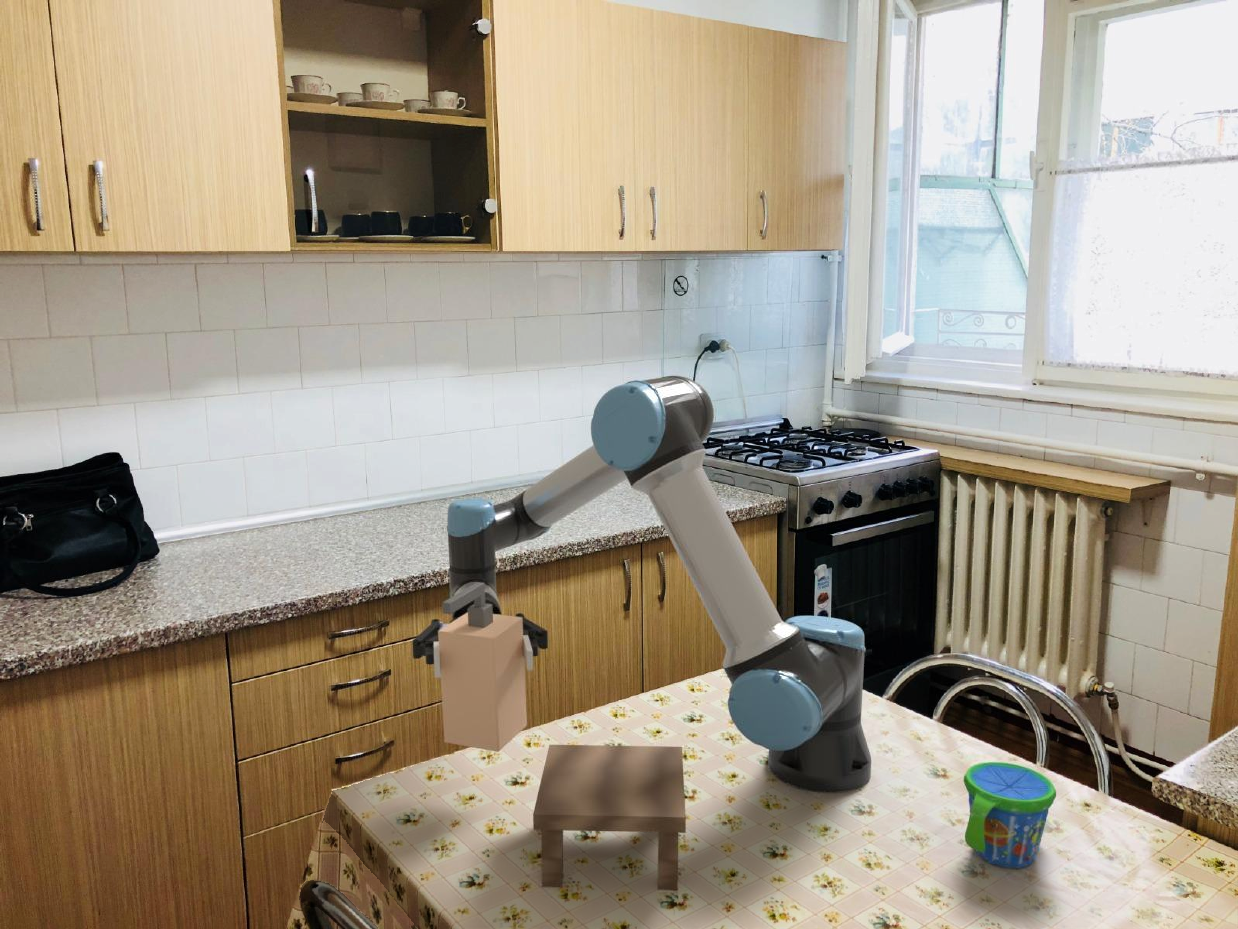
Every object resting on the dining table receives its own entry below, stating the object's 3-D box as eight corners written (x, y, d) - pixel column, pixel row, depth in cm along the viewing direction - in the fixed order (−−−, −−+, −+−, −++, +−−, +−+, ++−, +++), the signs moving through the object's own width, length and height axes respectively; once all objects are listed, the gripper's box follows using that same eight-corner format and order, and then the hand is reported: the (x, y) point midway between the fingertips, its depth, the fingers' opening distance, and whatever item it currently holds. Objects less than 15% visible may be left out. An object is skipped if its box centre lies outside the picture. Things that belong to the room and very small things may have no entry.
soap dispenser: (475, 716, 145) (467, 571, 140) (527, 725, 142) (521, 577, 137) (427, 756, 133) (417, 599, 129) (483, 766, 130) (475, 606, 126)
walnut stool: (681, 814, 136) (681, 746, 134) (684, 894, 118) (685, 817, 117) (550, 812, 137) (549, 744, 135) (534, 891, 119) (533, 814, 117)
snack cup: (1006, 818, 135) (1011, 748, 133) (1078, 854, 127) (1084, 780, 125) (930, 853, 127) (934, 780, 125) (1001, 895, 118) (1007, 817, 116)
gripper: (553, 630, 157) (573, 683, 136) (398, 642, 152) (393, 698, 131) (552, 585, 155) (572, 631, 134) (396, 595, 151) (391, 644, 130)
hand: (484, 664), depth 133 cm, fingers closed on soap dispenser, 12 cm apart
